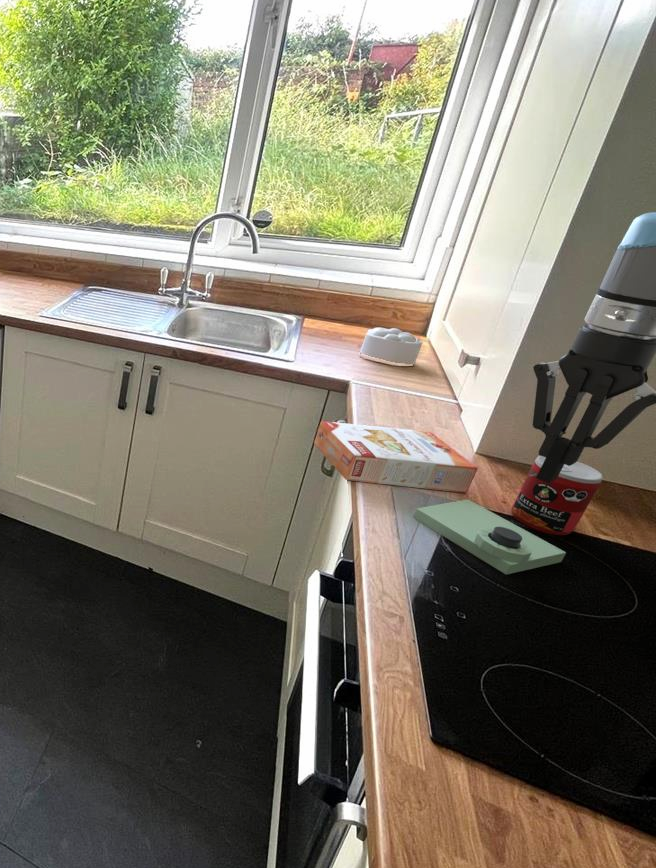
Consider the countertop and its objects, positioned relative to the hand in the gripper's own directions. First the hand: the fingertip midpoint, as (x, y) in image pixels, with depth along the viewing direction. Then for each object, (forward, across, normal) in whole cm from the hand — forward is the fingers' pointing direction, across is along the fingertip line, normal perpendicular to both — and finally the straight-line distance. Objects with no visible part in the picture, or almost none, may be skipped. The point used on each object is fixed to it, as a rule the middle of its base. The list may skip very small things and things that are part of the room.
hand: (546, 478), depth 87 cm
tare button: (+10, 0, -6) cm, 11 cm away
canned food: (+13, -1, +13) cm, 19 cm away
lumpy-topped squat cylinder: (+13, -56, +73) cm, 93 cm away
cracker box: (+10, -16, +16) cm, 24 cm away
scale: (+13, -3, -2) cm, 13 cm away
